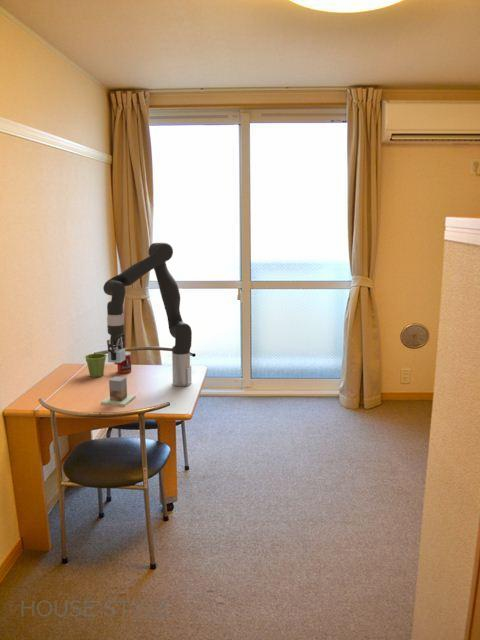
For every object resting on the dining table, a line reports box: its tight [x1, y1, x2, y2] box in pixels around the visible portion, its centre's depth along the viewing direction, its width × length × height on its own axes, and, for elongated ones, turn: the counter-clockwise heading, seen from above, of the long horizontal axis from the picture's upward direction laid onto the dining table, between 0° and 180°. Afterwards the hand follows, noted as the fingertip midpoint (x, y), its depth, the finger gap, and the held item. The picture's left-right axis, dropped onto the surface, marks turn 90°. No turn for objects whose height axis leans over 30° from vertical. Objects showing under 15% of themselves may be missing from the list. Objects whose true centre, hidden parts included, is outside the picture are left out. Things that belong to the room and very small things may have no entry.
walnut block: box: [109, 387, 128, 401], centre depth 245 cm, size 6×6×5 cm
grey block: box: [108, 376, 128, 391], centre depth 244 cm, size 6×6×5 cm
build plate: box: [100, 394, 136, 407], centre depth 246 cm, size 12×12×1 cm
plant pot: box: [84, 352, 108, 378], centre depth 282 cm, size 12×12×11 cm
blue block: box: [107, 348, 126, 364], centre depth 241 cm, size 6×6×5 cm
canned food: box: [116, 350, 132, 375], centre depth 289 cm, size 8×8×11 cm
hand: (117, 358), depth 241 cm, fingers closed on blue block, 6 cm apart
